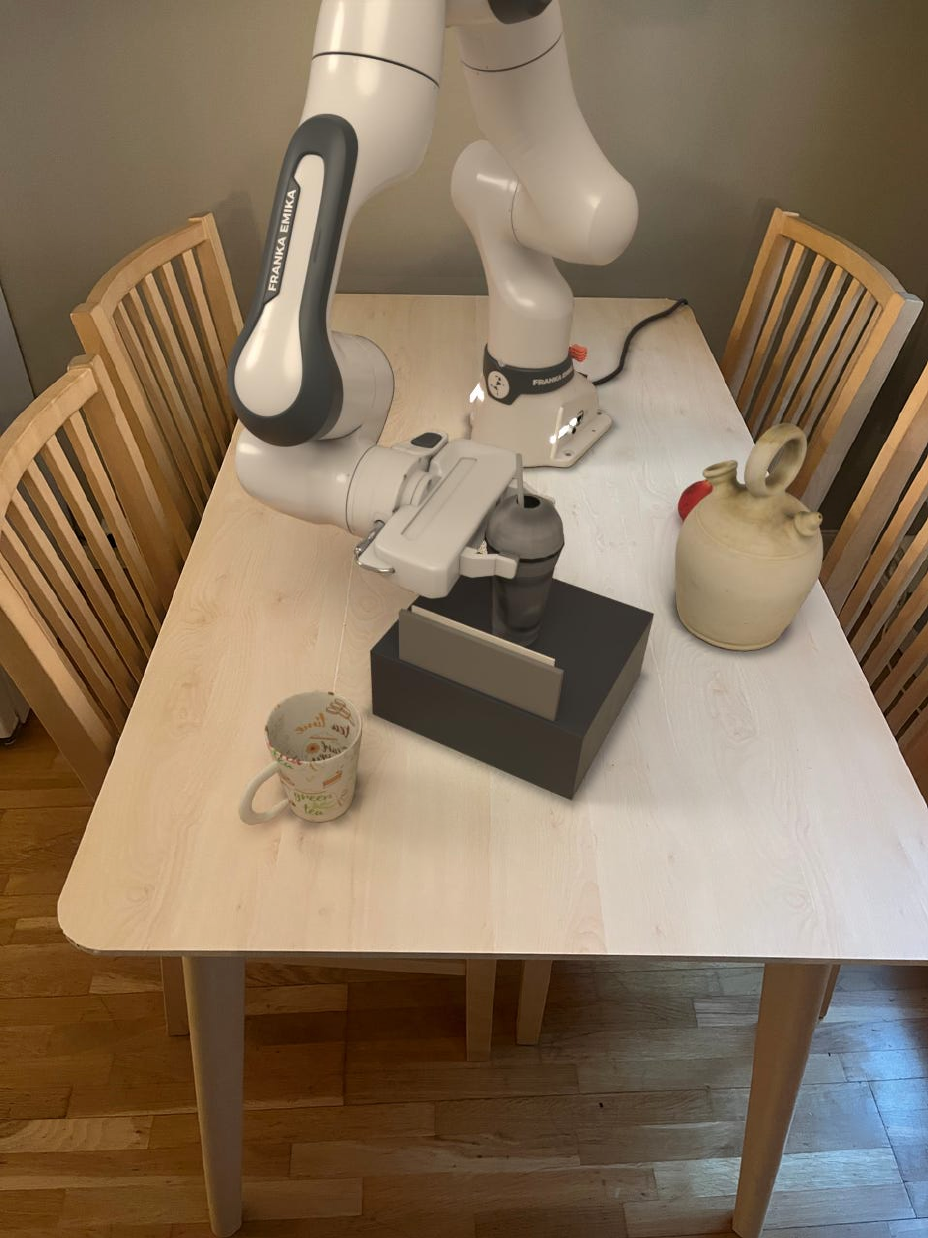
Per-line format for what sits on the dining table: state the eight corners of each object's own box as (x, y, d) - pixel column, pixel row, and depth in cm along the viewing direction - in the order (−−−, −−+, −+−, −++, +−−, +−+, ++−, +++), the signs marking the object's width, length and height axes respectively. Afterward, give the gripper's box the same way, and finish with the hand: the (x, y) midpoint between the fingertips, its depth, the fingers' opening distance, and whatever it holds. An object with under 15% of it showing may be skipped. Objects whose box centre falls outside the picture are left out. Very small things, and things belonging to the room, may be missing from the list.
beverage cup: (546, 663, 88) (571, 486, 74) (471, 650, 89) (482, 473, 75) (556, 613, 93) (580, 440, 80) (485, 602, 94) (497, 428, 81)
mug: (384, 794, 87) (382, 723, 80) (280, 880, 80) (267, 810, 73) (324, 747, 91) (317, 675, 84) (220, 825, 83) (203, 753, 77)
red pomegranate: (669, 536, 119) (682, 484, 113) (676, 512, 123) (688, 460, 118) (715, 547, 118) (729, 494, 112) (720, 522, 122) (735, 470, 116)
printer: (461, 606, 107) (466, 493, 97) (640, 673, 100) (667, 560, 90) (372, 714, 94) (367, 598, 84) (571, 800, 87) (593, 685, 77)
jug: (638, 589, 111) (678, 401, 94) (747, 564, 115) (805, 380, 98) (706, 676, 100) (765, 481, 83) (824, 645, 105) (902, 454, 88)
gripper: (341, 531, 77) (496, 576, 74) (440, 419, 91) (573, 453, 88) (345, 589, 81) (491, 634, 78) (439, 474, 96) (566, 507, 92)
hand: (535, 537), depth 83 cm, fingers open, 8 cm apart
